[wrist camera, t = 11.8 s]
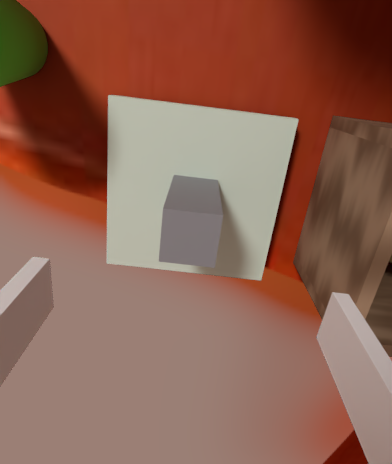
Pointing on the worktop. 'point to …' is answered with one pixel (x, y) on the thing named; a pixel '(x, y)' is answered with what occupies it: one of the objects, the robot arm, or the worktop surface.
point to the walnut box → (352, 224)
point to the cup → (20, 43)
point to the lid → (193, 186)
